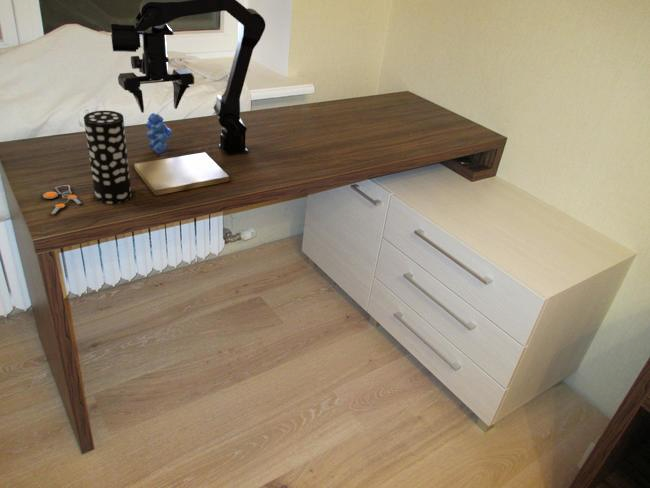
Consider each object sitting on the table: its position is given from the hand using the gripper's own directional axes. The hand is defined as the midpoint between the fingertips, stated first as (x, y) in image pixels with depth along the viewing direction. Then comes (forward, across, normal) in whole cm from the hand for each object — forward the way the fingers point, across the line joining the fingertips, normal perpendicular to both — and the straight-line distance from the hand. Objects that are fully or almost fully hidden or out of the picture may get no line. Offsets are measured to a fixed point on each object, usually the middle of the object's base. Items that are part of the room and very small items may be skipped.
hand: (159, 110), depth 148 cm
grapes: (+13, 0, 0) cm, 13 cm away
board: (+13, 0, +15) cm, 20 cm away
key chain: (+13, +30, +17) cm, 37 cm away
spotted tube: (+13, +19, +19) cm, 30 cm away
